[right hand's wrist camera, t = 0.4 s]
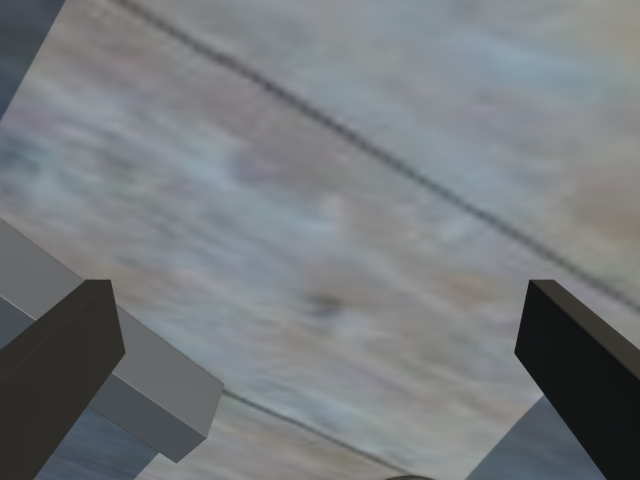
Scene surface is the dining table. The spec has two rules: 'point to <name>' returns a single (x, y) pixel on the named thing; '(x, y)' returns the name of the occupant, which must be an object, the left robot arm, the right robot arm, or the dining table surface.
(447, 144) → the dining table surface
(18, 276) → the beam
